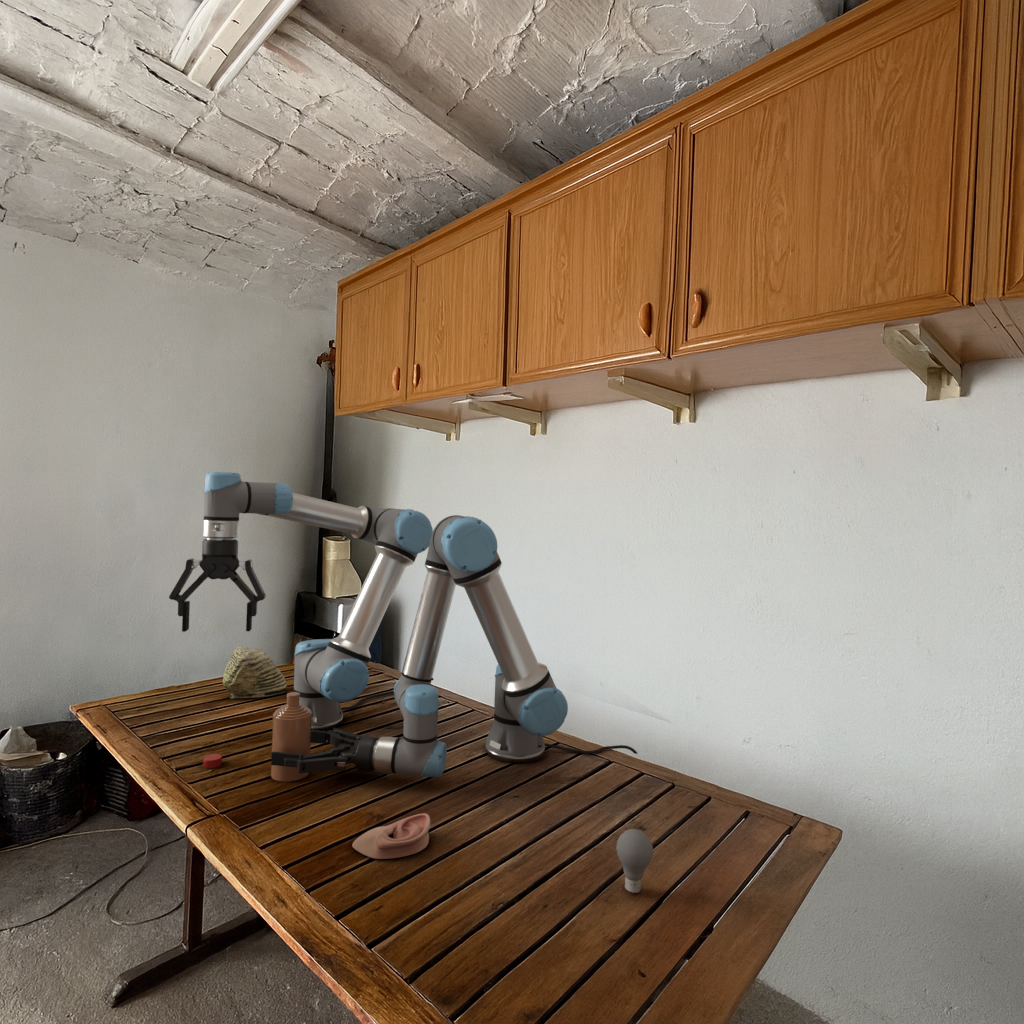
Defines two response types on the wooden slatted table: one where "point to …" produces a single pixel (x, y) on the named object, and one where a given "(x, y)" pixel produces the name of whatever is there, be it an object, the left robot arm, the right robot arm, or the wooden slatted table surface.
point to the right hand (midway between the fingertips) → (286, 746)
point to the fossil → (252, 674)
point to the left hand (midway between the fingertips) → (217, 630)
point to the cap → (212, 760)
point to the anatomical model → (395, 838)
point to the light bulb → (634, 857)
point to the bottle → (291, 735)
